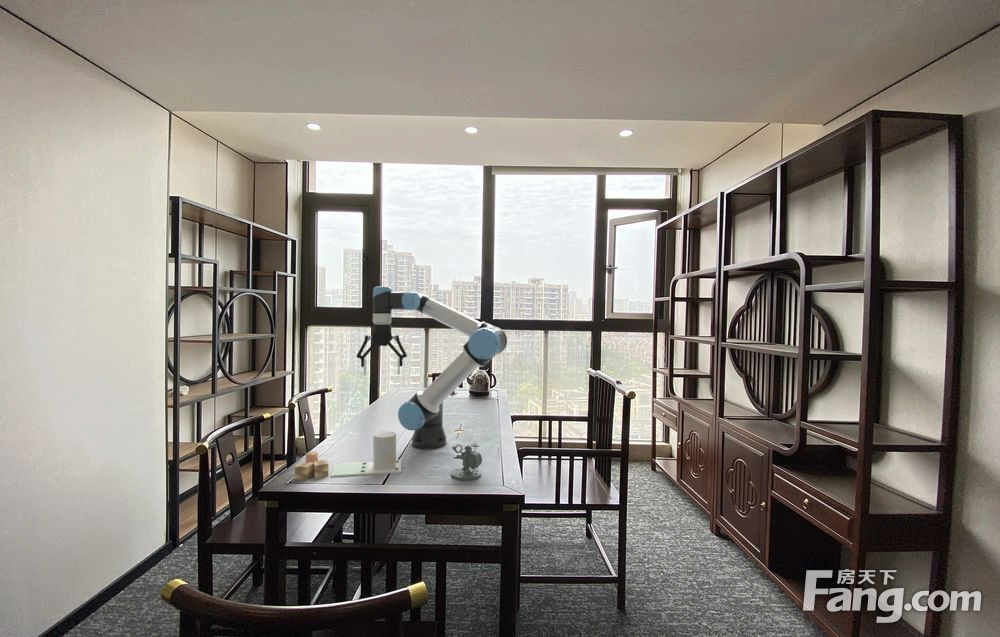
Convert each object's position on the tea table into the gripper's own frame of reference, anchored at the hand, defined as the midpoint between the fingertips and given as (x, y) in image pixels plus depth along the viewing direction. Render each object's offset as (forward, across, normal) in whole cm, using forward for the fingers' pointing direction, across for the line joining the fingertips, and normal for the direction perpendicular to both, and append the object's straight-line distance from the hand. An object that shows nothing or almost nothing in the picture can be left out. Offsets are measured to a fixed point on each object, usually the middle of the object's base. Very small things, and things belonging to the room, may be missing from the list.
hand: (382, 374), depth 188 cm
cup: (+31, -2, +22) cm, 38 cm away
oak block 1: (+32, +25, +26) cm, 48 cm away
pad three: (+32, +10, +22) cm, 40 cm away
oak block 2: (+32, +20, +25) cm, 45 cm away
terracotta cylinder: (+32, +24, +19) cm, 44 cm away
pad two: (+32, -2, +22) cm, 39 cm away
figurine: (+32, -31, +35) cm, 57 cm away
